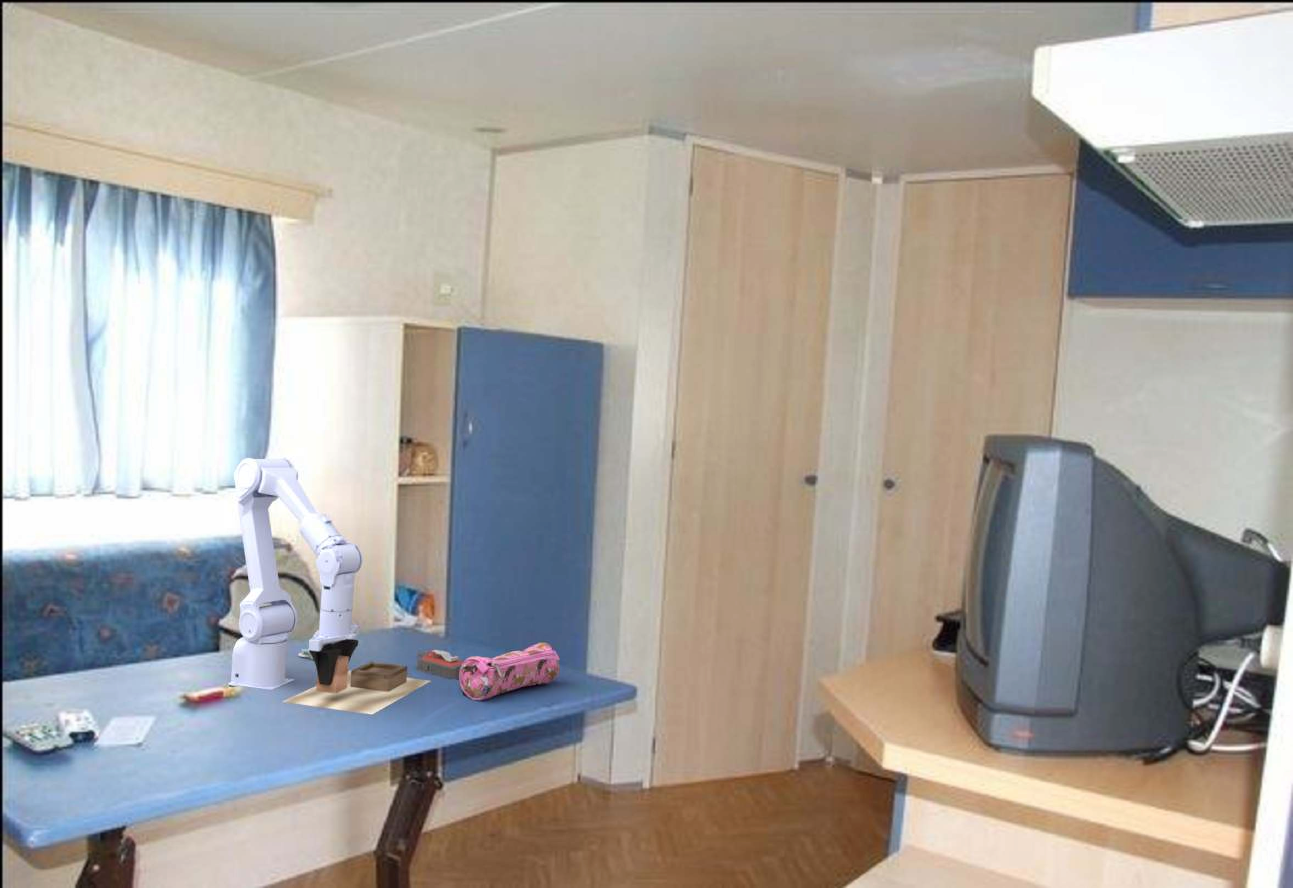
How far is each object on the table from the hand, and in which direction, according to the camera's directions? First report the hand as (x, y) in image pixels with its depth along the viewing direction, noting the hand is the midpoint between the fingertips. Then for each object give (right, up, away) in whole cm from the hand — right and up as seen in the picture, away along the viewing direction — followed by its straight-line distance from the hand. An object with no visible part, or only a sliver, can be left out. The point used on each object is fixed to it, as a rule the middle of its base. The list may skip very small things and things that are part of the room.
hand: (331, 681), depth 190 cm
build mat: (+3, -4, +7) cm, 9 cm away
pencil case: (+31, -6, +16) cm, 35 cm away
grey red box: (+14, -5, +30) cm, 33 cm away
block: (0, -2, 0) cm, 2 cm away
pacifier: (-14, -3, +33) cm, 36 cm away
